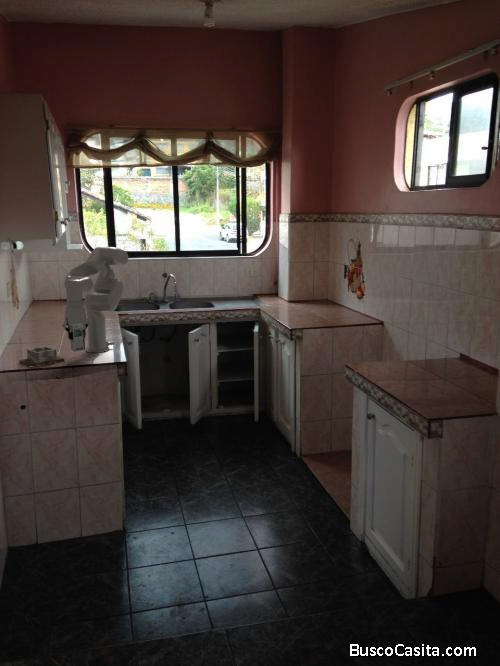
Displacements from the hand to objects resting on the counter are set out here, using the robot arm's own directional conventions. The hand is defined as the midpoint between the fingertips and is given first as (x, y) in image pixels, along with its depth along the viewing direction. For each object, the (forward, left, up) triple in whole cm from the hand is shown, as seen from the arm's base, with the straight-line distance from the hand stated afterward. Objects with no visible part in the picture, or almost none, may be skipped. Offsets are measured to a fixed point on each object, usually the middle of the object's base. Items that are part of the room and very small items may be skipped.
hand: (77, 338), depth 304 cm
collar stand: (+16, -7, -11) cm, 21 cm away
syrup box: (0, 0, -6) cm, 6 cm away
